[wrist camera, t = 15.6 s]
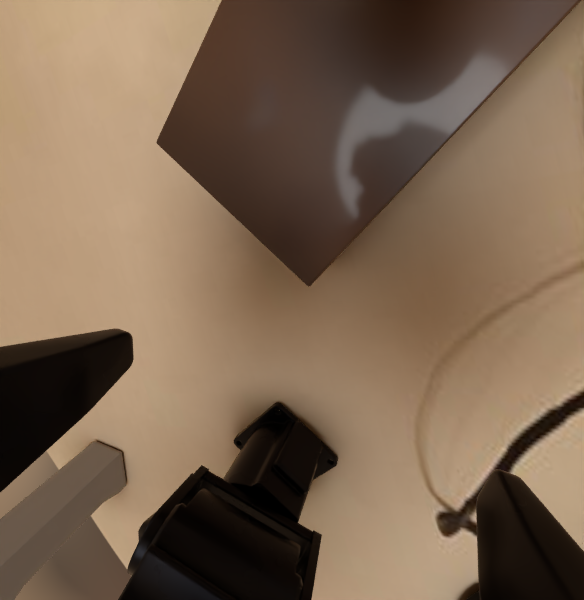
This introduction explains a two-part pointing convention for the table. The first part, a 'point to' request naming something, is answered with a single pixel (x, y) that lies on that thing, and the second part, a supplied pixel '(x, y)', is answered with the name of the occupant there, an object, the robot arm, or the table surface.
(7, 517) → the vintage mobile phone
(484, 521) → the robot arm
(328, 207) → the shelf
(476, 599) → the desk fan
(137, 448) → the table surface
